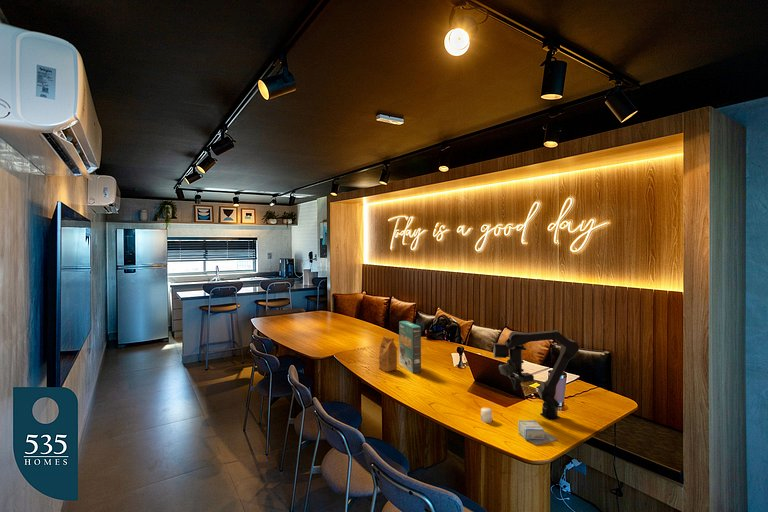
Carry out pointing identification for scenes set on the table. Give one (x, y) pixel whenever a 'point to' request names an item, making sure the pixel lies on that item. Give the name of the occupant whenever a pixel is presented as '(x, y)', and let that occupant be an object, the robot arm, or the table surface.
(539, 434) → the medicine box
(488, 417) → the egg
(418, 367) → the cake mix box
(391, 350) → the coffee package
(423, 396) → the table surface
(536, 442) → the mat
